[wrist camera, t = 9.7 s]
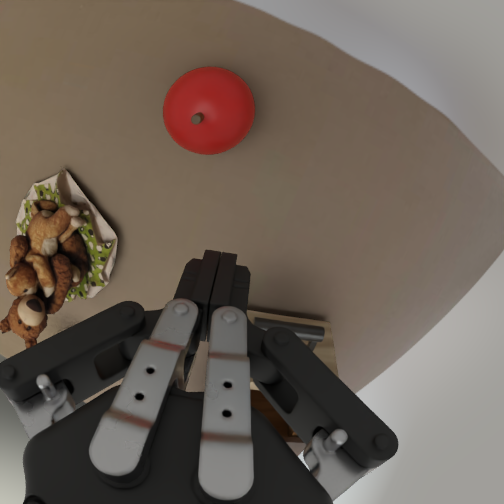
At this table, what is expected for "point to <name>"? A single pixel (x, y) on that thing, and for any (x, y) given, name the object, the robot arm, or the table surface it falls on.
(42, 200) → the bear figurine
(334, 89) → the table surface
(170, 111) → the apple
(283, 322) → the drawer
